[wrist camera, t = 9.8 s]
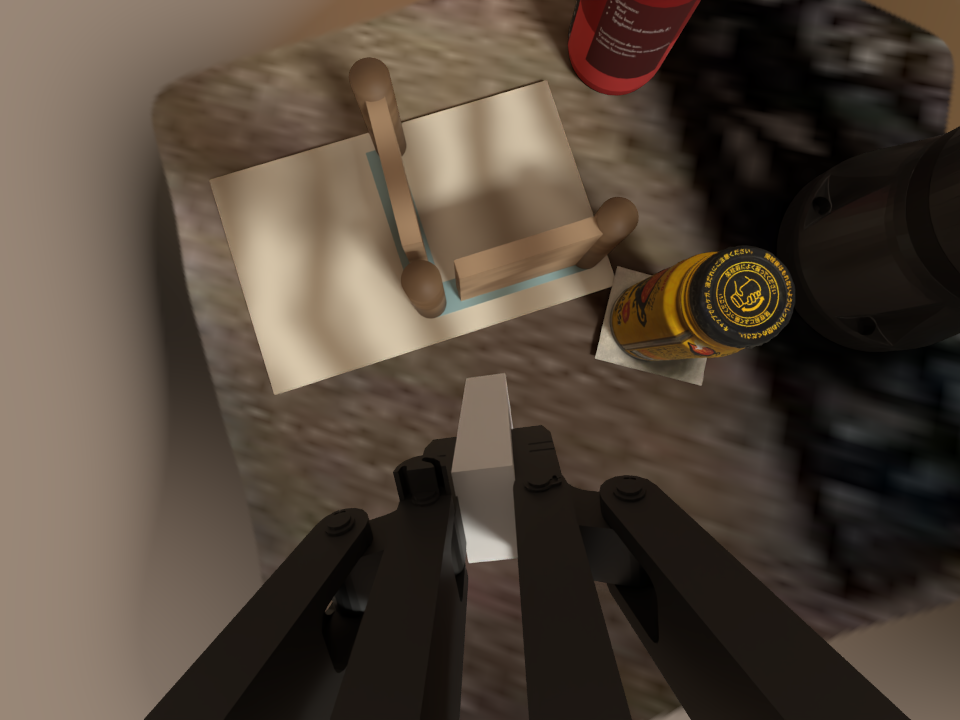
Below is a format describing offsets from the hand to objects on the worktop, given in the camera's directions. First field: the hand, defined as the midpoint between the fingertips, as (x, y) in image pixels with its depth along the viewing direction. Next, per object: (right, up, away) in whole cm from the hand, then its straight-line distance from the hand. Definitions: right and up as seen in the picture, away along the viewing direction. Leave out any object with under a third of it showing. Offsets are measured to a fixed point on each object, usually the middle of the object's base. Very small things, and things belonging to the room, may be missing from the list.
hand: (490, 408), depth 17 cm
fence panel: (-6, +14, +16) cm, 22 cm away
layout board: (-5, +12, +17) cm, 21 cm away
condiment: (+13, +4, +17) cm, 22 cm away
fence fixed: (+2, +8, +17) cm, 19 cm away
